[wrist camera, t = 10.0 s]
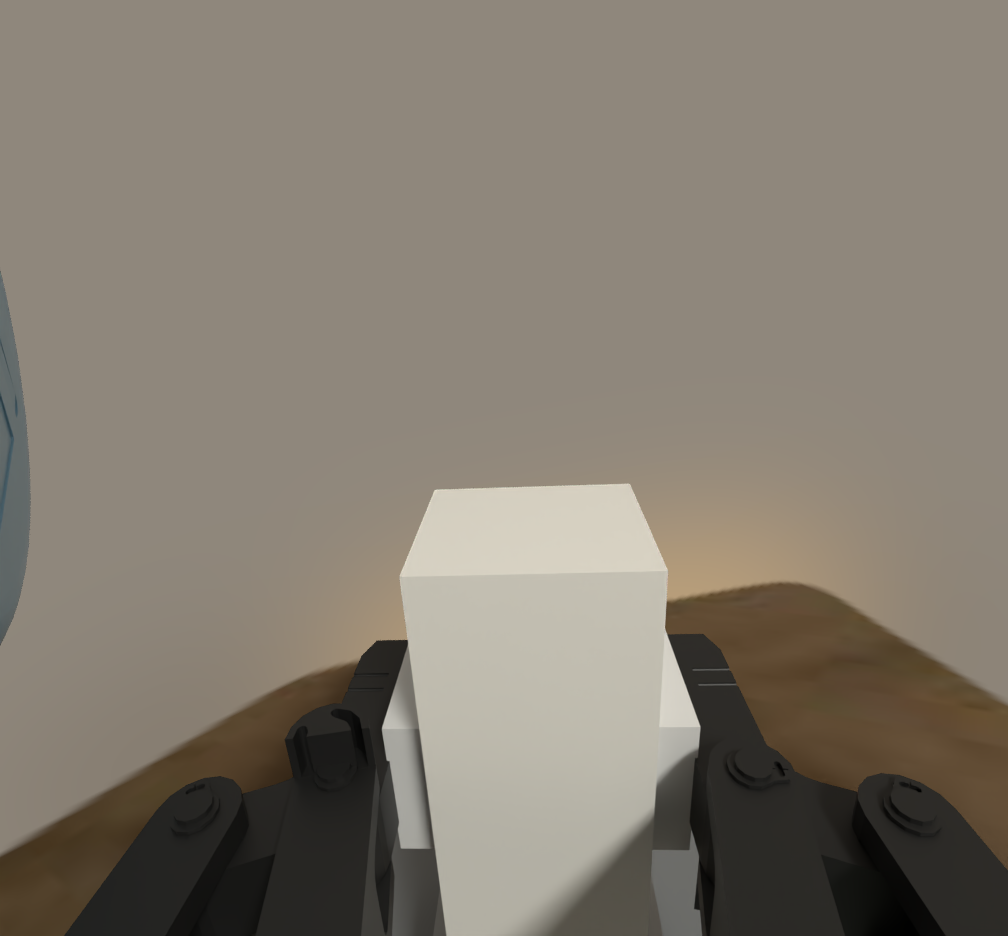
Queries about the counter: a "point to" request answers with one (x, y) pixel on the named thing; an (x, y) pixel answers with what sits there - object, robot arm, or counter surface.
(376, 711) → the robot arm
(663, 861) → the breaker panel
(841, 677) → the counter surface
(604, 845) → the handle
